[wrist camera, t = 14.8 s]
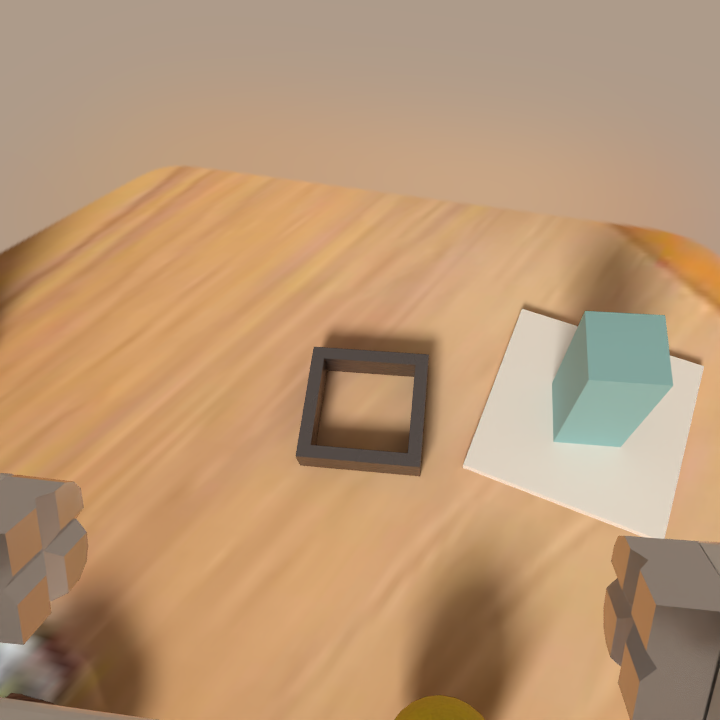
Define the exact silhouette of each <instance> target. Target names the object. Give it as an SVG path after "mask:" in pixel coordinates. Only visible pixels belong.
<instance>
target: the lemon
mask: <svg viewBox="0 0 720 720" xmlns="http://www.w3.org/2000/svg"><path fill="white" fill-rule="evenodd" d="M395 720H485V719H484V718H483V717H482V715H481V714H480V713H479V712H477V711H476V710H475V709H474V708H473V707H471V706H470V705H469V704H467V703H465V702H463V701H461V700H459V699H457V698H454V697H448V696H442V695H437V696H427V697H424V698H421V699H419V700H416V701H414V702H412V703H411V704H409V705H408V706H407V707H406V708H404V709H403V710H402V711H401V712H400V713H399V714H398V716H397V717H396V718H395Z"/></svg>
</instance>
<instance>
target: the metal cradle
mask: <svg viewBox="0 0 720 720" xmlns="http://www.w3.org/2000/svg"><path fill="white" fill-rule="evenodd" d="M428 360H429V355H426V354H411V353H397V352H382V351H368V350H353V349H339V348H324V347H314V349H313V355H312V361H311V367H310V373H309V379H308V385H307V391H306V397H305V403H304V409H303V415H302V421H301V427H300V433H299V439H298V445H297V451H296V458H297V460H298V462H299V464H300V465H303V466H314V467H325V468H336V469H347V470H358V471H369V472H380V473H391V474H402V475H413V476H420V468H421V455H422V442H423V429H424V415H425V402H426V389H427V376H428ZM327 370H329V371H343V372H356V373H370V374H384V375H398V376H411V377H414V388H413V400H412V412H411V423H410V435H409V447H408V453H398V452H386V451H375V450H363V449H352V448H340V447H329V446H317V445H316V441H317V434H318V427H319V421H320V414H321V408H322V401H323V395H324V388H325V382H326V375H327Z"/></svg>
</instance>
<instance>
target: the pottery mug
mask: <svg viewBox="0 0 720 720" xmlns="http://www.w3.org/2000/svg"><path fill="white" fill-rule="evenodd" d="M5 698H9V699H16V700H23V701H30V702H37V703H44V704H51V705H55V704H53V703H50V702H46V701H44V700H39V699H35V698H32V697H29V696H25V695H22V694H16V693H11V694H9V695H8V696H7V697H5Z"/></svg>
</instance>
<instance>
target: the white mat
mask: <svg viewBox="0 0 720 720" xmlns="http://www.w3.org/2000/svg"><path fill="white" fill-rule="evenodd" d="M577 328H578V326H575V325H572V324H569V323H566V322H563V321H559V320H556V319H553V318H550V317H547V316H544V315H540V314H537V313H534V312H531V311H528V310H525V309H522V310H521V313H520V316H519V318H518V321H517V324H516V326H515V329H514V332H513V334H512V337H511V339H510V342H509V345H508V347H507V350H506V353H505V355H504V358H503V361H502V363H501V366H500V369H499V371H498V374H497V377H496V379H495V382H494V385H493V387H492V390H491V393H490V395H489V398H488V400H487V403H486V406H485V408H484V411H483V414H482V416H481V419H480V422H479V424H478V427H477V430H476V432H475V435H474V438H473V440H472V443H471V446H470V448H469V451H468V453H467V456H466V459H465V461H464V464H463V468H465V469H468V470H470V471H473V472H476V473H478V474H481V475H483V476H486V477H489V478H491V479H494V480H496V481H499V482H502V483H504V484H507V485H509V486H512V487H515V488H517V489H520V490H522V491H525V492H528V493H530V494H533V495H535V496H538V497H541V498H543V499H546V500H548V501H551V502H553V503H556V504H559V505H561V506H564V507H566V508H569V509H572V510H574V511H577V512H579V513H582V514H585V515H587V516H590V517H592V518H595V519H598V520H600V521H603V522H605V523H608V524H611V525H613V526H616V527H618V528H621V529H624V530H626V531H629V532H631V533H634V534H637V535H639V536H642V537H646V538H660V539H664V538H665V534H666V529H667V525H668V521H669V516H670V512H671V508H672V503H673V499H674V495H675V490H676V486H677V482H678V477H679V473H680V468H681V464H682V460H683V455H684V451H685V447H686V442H687V438H688V434H689V429H690V425H691V421H692V416H693V412H694V408H695V403H696V399H697V394H698V390H699V386H700V381H701V377H702V373H703V368H704V366H702V365H699V364H696V363H692V362H689V361H686V360H683V359H680V358H677V357H673V356H670V362H671V370H672V379H673V387H672V388H671V389H670V390H669V391H668V392H667V394H666V395H665V396H664V397H663V398H662V399H661V401H660V402H659V403H658V404H657V405H656V406H655V408H654V409H653V410H652V411H651V412H650V413H649V415H648V416H647V417H646V418H645V419H644V420H643V422H642V423H641V424H640V425H639V426H638V427H637V429H636V430H635V431H634V432H633V433H632V434H631V435H630V437H629V438H628V439H627V440H626V441H625V442H624V444H623V445H622V446H621V447H612V446H599V445H586V444H573V443H561V442H553V405H552V382H553V380H554V378H555V376H556V373H557V371H558V369H559V367H560V365H561V363H562V360H563V358H564V356H565V354H566V352H567V349H568V347H569V345H570V343H571V341H572V338H573V336H574V334H575V332H576V330H577Z"/></svg>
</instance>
